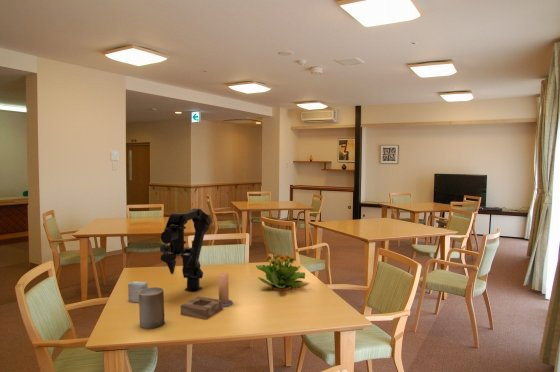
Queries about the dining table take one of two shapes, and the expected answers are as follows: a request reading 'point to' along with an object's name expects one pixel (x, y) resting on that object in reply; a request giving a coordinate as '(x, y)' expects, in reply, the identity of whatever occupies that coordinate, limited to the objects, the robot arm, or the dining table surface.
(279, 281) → the potted flower
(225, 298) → the peg
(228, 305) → the coaster
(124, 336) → the dining table surface
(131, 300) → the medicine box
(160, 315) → the pillar candle
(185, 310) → the pocket block
